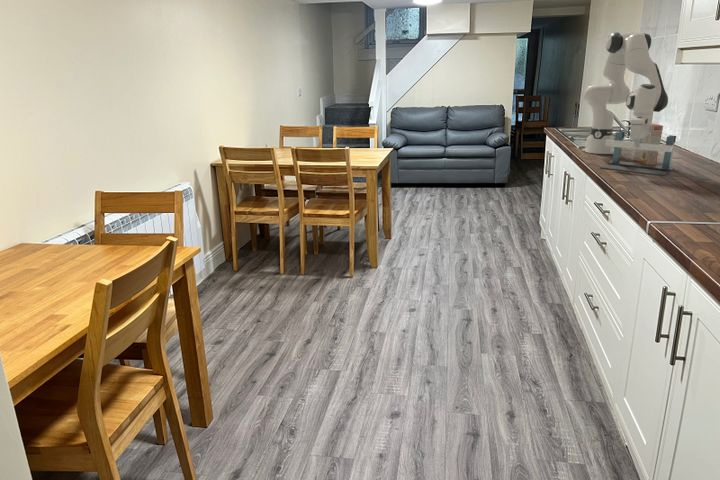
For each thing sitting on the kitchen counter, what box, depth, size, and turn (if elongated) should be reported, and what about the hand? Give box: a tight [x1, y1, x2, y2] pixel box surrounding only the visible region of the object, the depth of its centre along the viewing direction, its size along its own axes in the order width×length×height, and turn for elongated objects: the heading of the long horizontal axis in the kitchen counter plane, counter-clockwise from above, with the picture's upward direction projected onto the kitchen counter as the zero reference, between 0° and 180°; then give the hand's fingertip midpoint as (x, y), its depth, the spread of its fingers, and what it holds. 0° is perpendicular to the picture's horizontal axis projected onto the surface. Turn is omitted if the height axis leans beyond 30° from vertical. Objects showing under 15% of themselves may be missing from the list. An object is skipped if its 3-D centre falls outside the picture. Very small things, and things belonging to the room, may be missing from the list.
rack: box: [606, 130, 677, 173], centre depth 280 cm, size 8×30×17 cm, turn 50°
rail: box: [605, 139, 674, 153], centre depth 270 cm, size 3×30×3 cm, turn 50°
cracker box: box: [633, 122, 664, 165], centre depth 290 cm, size 14×6×21 cm, turn 179°
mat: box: [599, 163, 670, 177], centre depth 274 cm, size 10×30×1 cm, turn 50°
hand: (637, 147), depth 270 cm, fingers closed on rail, 3 cm apart
